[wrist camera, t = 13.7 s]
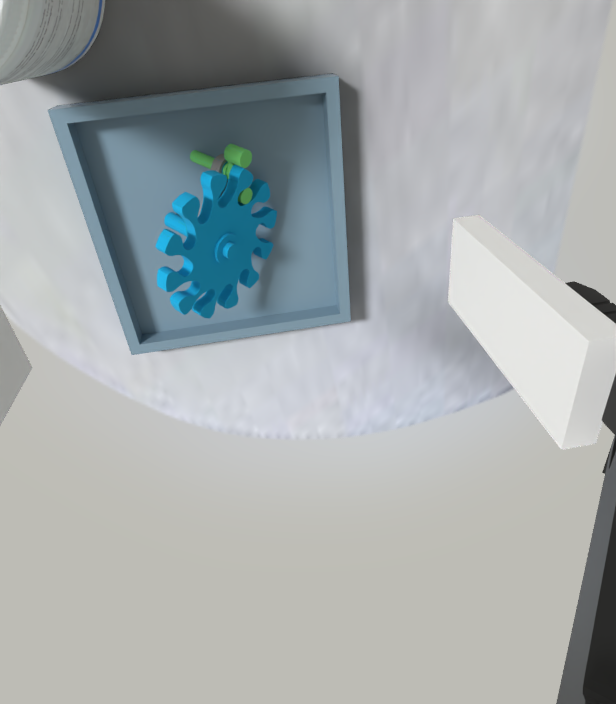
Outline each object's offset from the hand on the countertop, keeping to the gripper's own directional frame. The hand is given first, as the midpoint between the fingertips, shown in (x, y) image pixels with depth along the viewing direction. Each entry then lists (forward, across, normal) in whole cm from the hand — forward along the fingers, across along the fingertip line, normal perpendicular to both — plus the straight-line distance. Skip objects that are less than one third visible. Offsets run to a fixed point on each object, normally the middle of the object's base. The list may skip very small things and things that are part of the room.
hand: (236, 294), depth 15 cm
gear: (+22, -2, -5) cm, 22 cm away
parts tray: (+22, -2, -5) cm, 23 cm away
